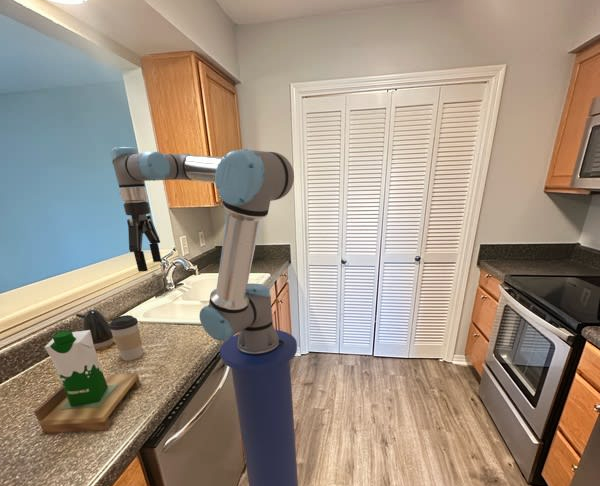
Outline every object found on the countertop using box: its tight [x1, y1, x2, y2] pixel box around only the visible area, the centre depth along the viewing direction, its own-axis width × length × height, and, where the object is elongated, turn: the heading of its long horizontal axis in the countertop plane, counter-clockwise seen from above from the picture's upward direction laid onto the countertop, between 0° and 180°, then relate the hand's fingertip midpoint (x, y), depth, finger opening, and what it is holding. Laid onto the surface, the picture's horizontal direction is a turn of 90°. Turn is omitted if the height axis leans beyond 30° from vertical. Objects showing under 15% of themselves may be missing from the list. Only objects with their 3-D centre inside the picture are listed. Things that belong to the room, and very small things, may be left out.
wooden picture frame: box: [33, 373, 141, 434], centre depth 90 cm, size 16×20×7 cm
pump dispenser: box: [75, 309, 115, 350], centre depth 123 cm, size 10×10×15 cm
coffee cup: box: [109, 314, 144, 361], centre depth 115 cm, size 9×9×15 cm
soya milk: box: [44, 330, 108, 406], centre depth 85 cm, size 9×9×20 cm
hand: (150, 266), depth 113 cm, fingers open, 13 cm apart
